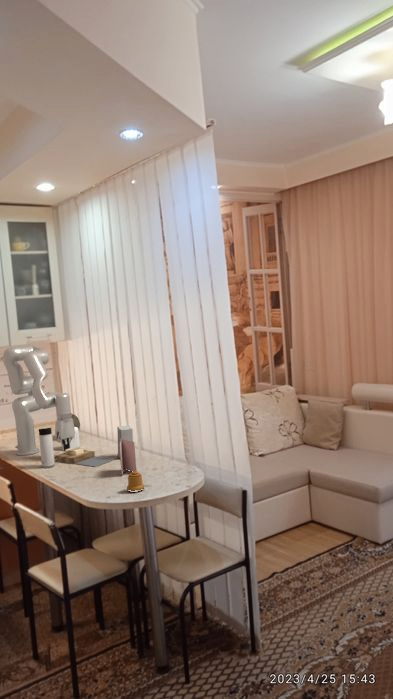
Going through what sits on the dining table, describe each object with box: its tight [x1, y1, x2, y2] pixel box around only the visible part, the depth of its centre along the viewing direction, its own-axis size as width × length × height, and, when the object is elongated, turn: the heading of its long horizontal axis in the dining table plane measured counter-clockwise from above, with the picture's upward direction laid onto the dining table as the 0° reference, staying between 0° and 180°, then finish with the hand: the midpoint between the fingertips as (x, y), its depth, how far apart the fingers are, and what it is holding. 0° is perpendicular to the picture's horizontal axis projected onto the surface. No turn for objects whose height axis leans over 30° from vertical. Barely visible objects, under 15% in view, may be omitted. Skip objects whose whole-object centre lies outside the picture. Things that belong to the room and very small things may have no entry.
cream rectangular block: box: [64, 447, 85, 455], centre depth 305 cm, size 8×6×2 cm
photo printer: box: [61, 427, 81, 451], centre depth 328 cm, size 10×4×12 cm, turn 123°
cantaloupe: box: [71, 413, 81, 431], centre depth 355 cm, size 14×14×15 cm
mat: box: [74, 456, 116, 468], centre depth 296 cm, size 14×14×1 cm
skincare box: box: [116, 425, 134, 459], centre depth 301 cm, size 8×7×16 cm
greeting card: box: [119, 439, 138, 475], centre depth 273 cm, size 11×7×15 cm, turn 4°
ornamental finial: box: [126, 471, 146, 491], centre depth 245 cm, size 8×8×8 cm
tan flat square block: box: [55, 449, 95, 465], centre depth 305 cm, size 14×14×3 cm
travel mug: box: [38, 427, 56, 469], centre depth 293 cm, size 6×7×20 cm
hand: (67, 451), depth 308 cm, fingers closed
